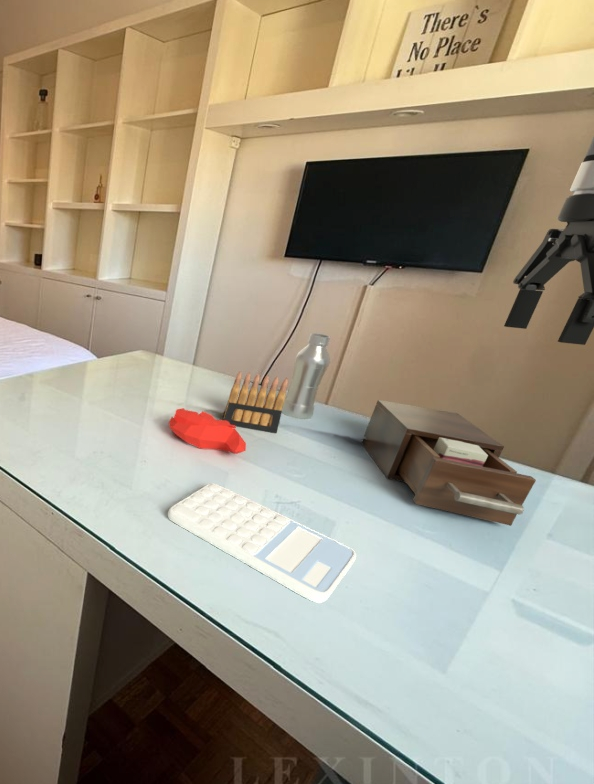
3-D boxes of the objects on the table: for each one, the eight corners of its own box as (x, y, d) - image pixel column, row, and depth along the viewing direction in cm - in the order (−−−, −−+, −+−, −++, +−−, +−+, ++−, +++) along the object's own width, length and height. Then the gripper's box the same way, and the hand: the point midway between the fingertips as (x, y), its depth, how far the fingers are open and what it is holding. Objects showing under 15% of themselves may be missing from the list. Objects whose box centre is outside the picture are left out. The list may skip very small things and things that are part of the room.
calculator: (209, 489, 73) (212, 479, 72) (356, 561, 59) (361, 549, 58) (163, 518, 64) (166, 507, 64) (321, 609, 50) (327, 596, 50)
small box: (427, 489, 74) (446, 445, 71) (419, 477, 77) (438, 436, 74) (467, 499, 71) (489, 455, 69) (458, 487, 75) (479, 444, 72)
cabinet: (478, 498, 76) (504, 446, 73) (386, 478, 81) (407, 428, 77) (437, 458, 90) (457, 413, 87) (360, 443, 94) (377, 399, 91)
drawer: (529, 543, 63) (557, 495, 61) (427, 519, 67) (449, 473, 65) (463, 480, 80) (482, 440, 77) (384, 463, 84) (400, 424, 81)
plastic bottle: (312, 421, 104) (340, 336, 97) (306, 429, 99) (335, 340, 92) (281, 412, 108) (306, 330, 101) (273, 420, 103) (299, 334, 96)
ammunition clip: (222, 423, 99) (236, 371, 95) (221, 420, 101) (234, 369, 96) (276, 433, 96) (293, 380, 92) (274, 429, 98) (290, 377, 94)
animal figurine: (233, 468, 80) (240, 442, 78) (159, 436, 90) (164, 413, 89) (260, 451, 87) (267, 427, 86) (188, 423, 98) (193, 401, 96)
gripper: (731, 186, 55) (637, 355, 62) (577, 200, 77) (521, 324, 84) (645, 184, 57) (565, 347, 65) (520, 199, 79) (471, 319, 87)
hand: (540, 335), depth 74 cm, fingers open, 13 cm apart
